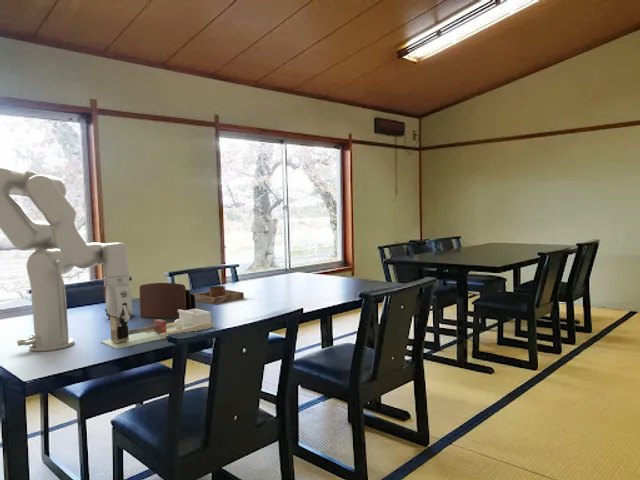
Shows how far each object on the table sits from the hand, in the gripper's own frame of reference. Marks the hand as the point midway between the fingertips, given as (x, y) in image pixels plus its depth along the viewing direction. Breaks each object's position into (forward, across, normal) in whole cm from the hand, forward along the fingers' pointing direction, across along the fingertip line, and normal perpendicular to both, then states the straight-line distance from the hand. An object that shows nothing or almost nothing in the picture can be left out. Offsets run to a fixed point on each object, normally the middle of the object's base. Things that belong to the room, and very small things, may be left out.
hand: (119, 336), depth 157 cm
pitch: (+2, 0, -14) cm, 14 cm away
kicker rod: (+1, 0, -7) cm, 7 cm away
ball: (0, 0, -21) cm, 21 cm away
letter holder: (+3, +28, -32) cm, 43 cm away
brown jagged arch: (+3, +41, -17) cm, 44 cm away
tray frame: (+2, +40, -64) cm, 75 cm away
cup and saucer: (+3, +40, -63) cm, 75 cm away
